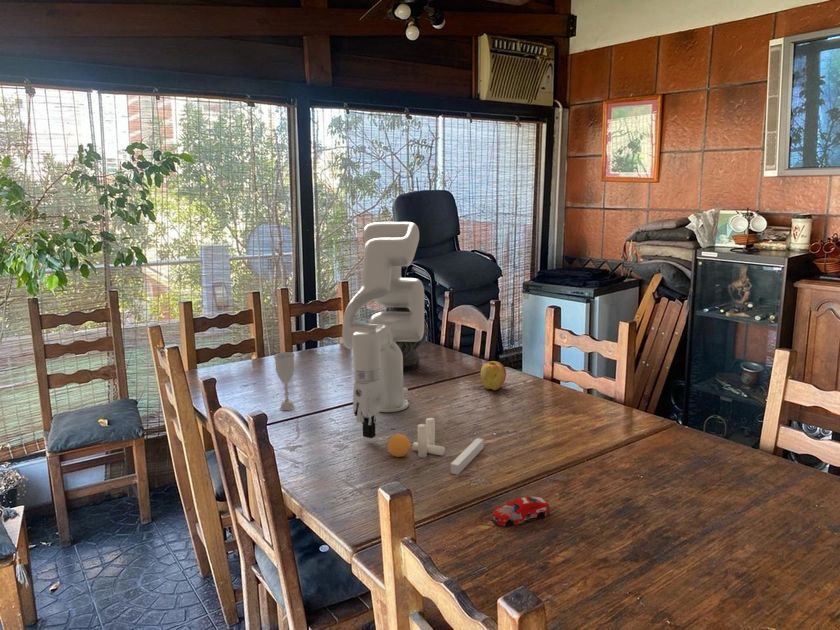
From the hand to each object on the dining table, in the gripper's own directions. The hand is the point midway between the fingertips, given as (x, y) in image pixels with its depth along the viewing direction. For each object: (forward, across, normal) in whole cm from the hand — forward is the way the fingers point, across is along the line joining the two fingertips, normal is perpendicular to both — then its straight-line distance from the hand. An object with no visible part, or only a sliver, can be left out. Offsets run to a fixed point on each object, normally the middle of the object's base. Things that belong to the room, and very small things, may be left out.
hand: (369, 436), depth 176 cm
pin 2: (+2, +2, -18) cm, 18 cm away
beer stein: (+2, +72, +27) cm, 77 cm away
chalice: (+2, +13, +39) cm, 41 cm away
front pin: (0, 0, -14) cm, 14 cm away
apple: (+2, +59, -16) cm, 61 cm away
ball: (-2, -5, -12) cm, 14 cm away
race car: (+2, -22, -51) cm, 56 cm away
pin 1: (+2, -2, -18) cm, 18 cm away
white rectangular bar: (+2, 0, -30) cm, 30 cm away
